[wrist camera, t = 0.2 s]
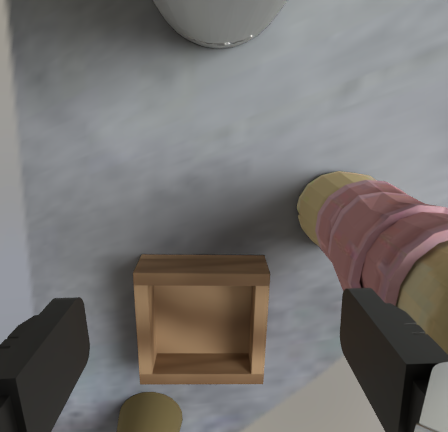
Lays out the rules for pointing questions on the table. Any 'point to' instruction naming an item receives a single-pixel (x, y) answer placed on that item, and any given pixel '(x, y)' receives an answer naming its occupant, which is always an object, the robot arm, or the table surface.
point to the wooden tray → (201, 318)
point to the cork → (149, 414)
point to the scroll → (382, 244)
